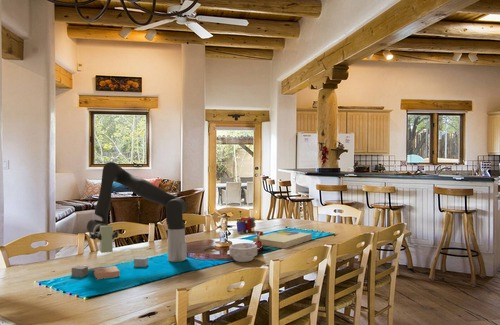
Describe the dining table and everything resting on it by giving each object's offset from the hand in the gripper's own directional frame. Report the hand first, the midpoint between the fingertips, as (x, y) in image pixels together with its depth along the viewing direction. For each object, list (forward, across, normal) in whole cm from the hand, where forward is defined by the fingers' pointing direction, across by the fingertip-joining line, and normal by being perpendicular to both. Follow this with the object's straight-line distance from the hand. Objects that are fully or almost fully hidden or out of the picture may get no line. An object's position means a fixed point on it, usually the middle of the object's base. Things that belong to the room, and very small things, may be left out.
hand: (107, 237), depth 192 cm
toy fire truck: (-19, +91, +18) cm, 95 cm away
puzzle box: (-30, +116, +19) cm, 121 cm away
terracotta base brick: (-2, 0, +19) cm, 19 cm away
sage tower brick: (-3, 0, +7) cm, 7 cm away
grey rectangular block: (-8, -11, +18) cm, 23 cm away
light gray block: (-12, +18, +18) cm, 29 cm away
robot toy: (-74, +111, +19) cm, 135 cm away
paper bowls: (+2, +70, +18) cm, 72 cm away
